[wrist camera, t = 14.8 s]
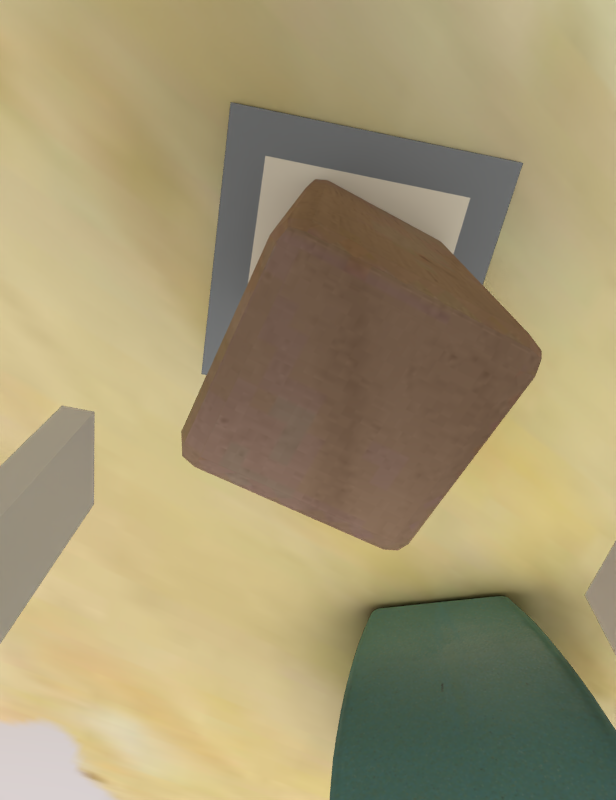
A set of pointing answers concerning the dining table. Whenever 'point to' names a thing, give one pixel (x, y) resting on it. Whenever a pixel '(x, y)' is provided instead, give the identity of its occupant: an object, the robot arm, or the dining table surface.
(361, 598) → the dining table surface
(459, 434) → the wooden block
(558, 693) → the flower pot
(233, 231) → the mat
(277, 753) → the dining table surface
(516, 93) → the dining table surface
